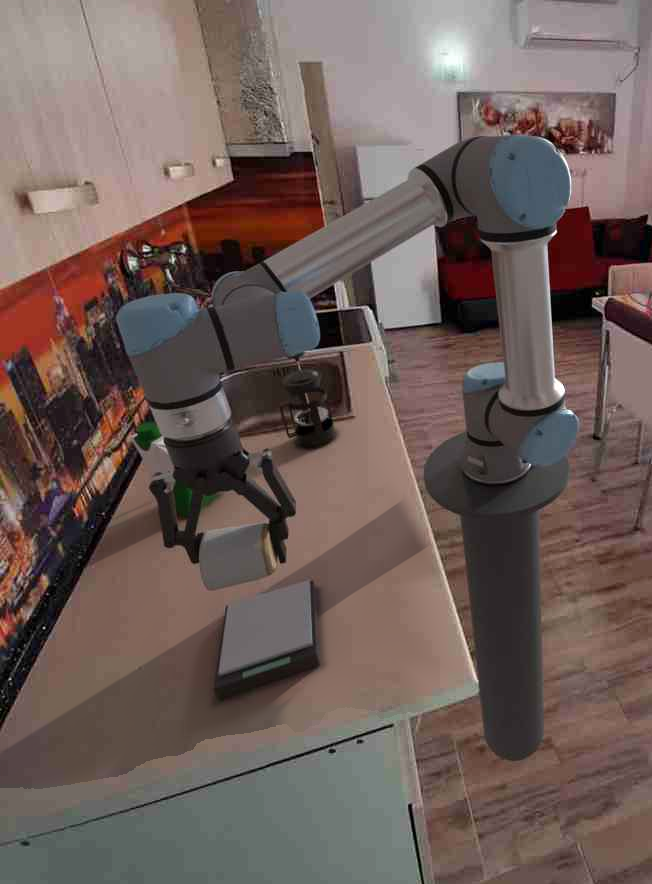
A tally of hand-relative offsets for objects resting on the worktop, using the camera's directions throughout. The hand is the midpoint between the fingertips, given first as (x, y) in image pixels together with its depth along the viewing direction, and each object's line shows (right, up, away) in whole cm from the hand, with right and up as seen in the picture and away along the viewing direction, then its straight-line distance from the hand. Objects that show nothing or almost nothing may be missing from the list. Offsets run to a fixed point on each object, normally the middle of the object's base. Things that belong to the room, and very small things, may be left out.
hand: (248, 565), depth 70 cm
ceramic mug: (0, 0, 0) cm, 1 cm away
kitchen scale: (+1, -13, +6) cm, 14 cm away
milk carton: (-29, 0, +36) cm, 46 cm away
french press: (-11, +11, +55) cm, 58 cm away
